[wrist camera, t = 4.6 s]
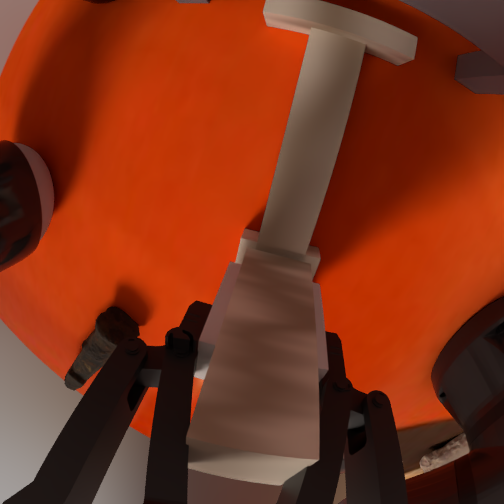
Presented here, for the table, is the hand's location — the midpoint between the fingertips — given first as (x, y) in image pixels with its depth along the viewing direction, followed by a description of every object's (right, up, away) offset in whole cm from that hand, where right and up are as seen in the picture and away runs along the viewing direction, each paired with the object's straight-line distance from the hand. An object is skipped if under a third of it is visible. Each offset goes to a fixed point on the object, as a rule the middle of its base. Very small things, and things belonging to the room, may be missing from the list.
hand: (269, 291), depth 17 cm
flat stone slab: (+45, -39, +18) cm, 62 cm away
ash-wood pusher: (+2, +7, -1) cm, 8 cm away
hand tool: (-19, -9, +11) cm, 23 cm away
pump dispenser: (-21, +8, +2) cm, 22 cm away
